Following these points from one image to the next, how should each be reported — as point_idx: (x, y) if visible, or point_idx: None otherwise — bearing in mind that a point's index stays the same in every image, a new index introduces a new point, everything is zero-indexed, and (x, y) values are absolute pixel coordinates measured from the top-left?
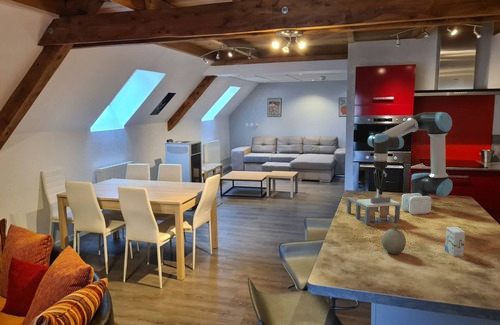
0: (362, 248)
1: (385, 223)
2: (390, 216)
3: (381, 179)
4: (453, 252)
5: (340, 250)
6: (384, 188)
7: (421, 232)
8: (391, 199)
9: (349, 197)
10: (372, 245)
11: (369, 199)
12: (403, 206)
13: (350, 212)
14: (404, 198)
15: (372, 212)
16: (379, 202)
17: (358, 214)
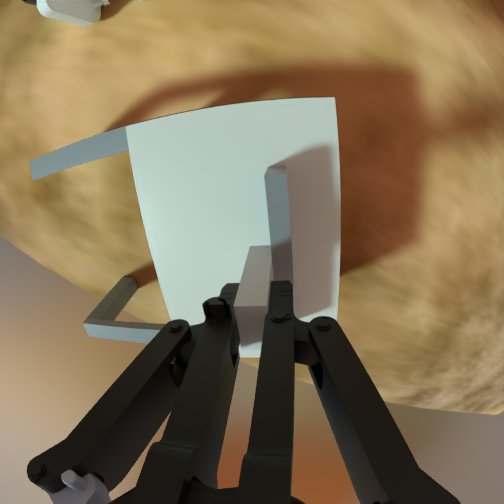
0: (477, 352)
1: None
2: None
3: (347, 464)
4: None
5: (458, 389)
6: (332, 321)
7: (450, 93)
8: (186, 113)
9: (90, 329)
10: (479, 327)
11: (176, 287)
12: (88, 16)
13: (130, 284)
14: (60, 4)
15: None
16: (293, 266)
17: None
